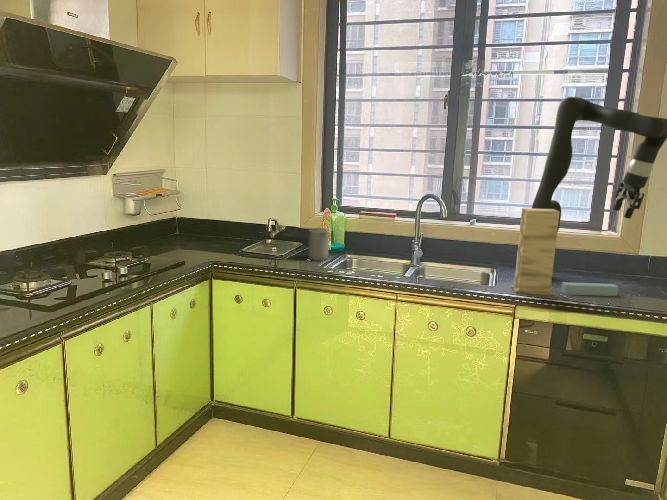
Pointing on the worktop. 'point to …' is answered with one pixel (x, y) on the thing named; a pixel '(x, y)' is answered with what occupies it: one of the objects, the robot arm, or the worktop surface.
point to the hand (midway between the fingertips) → (621, 214)
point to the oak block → (536, 251)
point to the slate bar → (589, 289)
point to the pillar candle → (318, 244)
